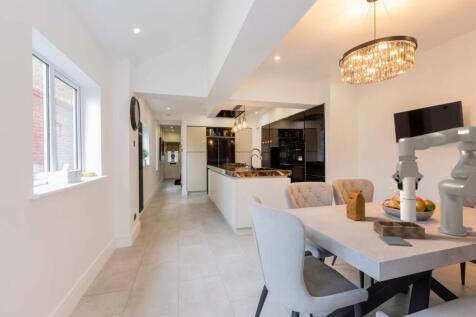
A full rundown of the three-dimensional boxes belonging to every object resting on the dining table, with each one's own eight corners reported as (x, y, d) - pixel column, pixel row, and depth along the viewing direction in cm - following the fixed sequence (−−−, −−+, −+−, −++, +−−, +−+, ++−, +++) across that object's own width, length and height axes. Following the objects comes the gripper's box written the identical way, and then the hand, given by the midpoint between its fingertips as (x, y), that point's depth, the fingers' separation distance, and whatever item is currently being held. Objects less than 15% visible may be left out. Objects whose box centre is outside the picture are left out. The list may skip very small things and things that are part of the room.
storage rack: (411, 231, 130) (411, 221, 130) (425, 238, 119) (424, 228, 119) (373, 230, 134) (373, 220, 133) (382, 237, 122) (382, 226, 122)
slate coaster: (399, 238, 120) (399, 236, 120) (412, 246, 109) (412, 244, 109) (378, 237, 122) (378, 235, 122) (388, 245, 111) (388, 243, 111)
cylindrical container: (410, 222, 121) (409, 177, 121) (397, 218, 128) (396, 176, 128) (419, 220, 123) (418, 177, 123) (406, 217, 130) (405, 176, 130)
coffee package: (356, 216, 166) (356, 187, 166) (367, 220, 153) (367, 190, 153) (344, 216, 165) (343, 187, 165) (354, 221, 153) (353, 190, 153)
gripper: (419, 158, 128) (419, 188, 128) (387, 159, 130) (387, 188, 130) (428, 158, 120) (429, 190, 120) (394, 159, 123) (394, 190, 123)
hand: (407, 189), depth 125 cm, fingers closed on cylindrical container, 7 cm apart
